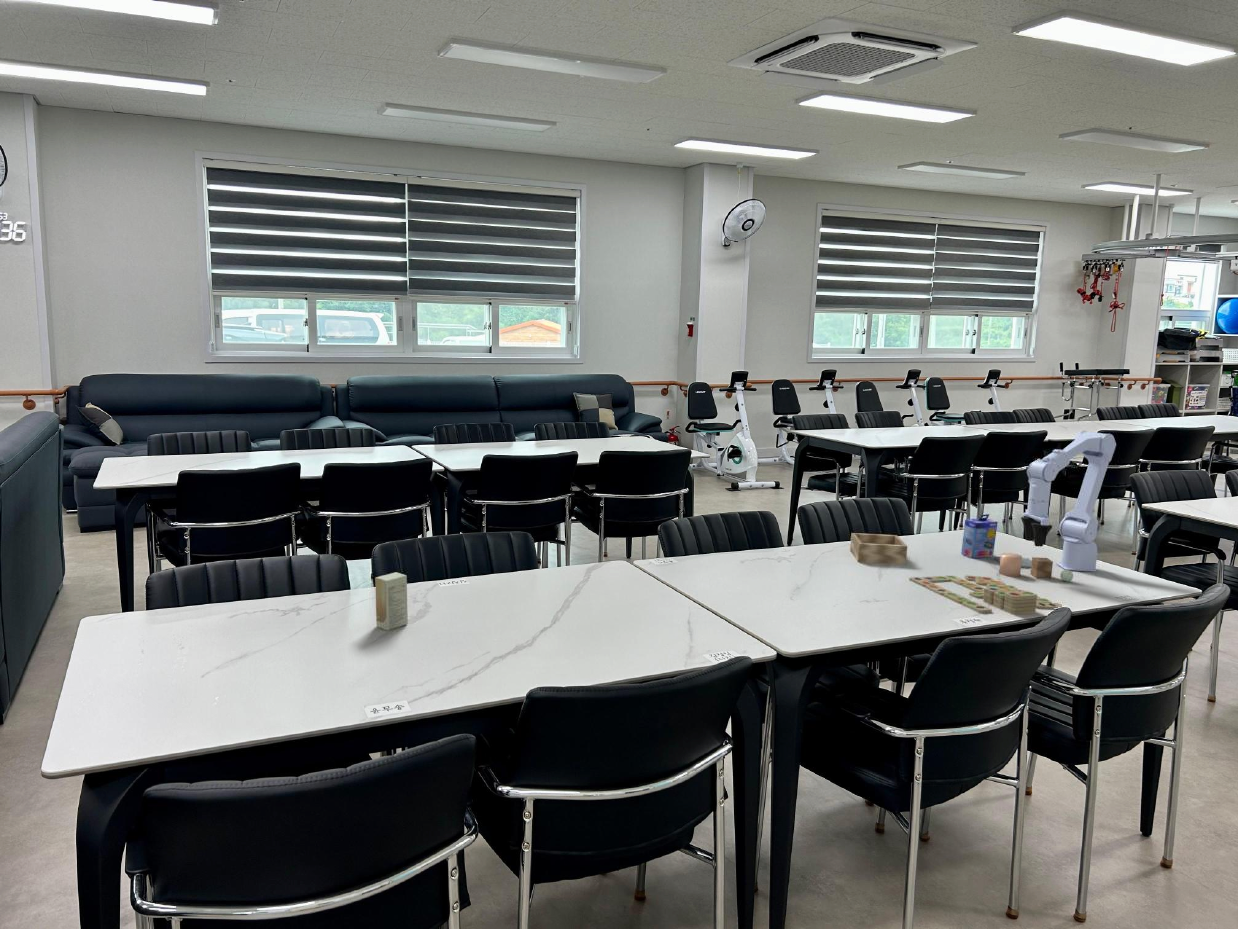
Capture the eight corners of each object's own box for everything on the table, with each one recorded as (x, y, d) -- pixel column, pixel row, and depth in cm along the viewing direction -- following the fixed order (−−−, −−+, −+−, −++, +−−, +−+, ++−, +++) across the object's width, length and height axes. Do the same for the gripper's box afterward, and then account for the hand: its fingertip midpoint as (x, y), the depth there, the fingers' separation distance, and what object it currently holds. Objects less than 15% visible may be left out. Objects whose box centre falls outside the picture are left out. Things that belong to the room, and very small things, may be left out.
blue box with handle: (972, 558, 291) (976, 516, 289) (960, 554, 296) (964, 512, 294) (994, 556, 295) (999, 514, 293) (982, 552, 300) (986, 510, 298)
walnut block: (1045, 575, 274) (1047, 558, 273) (1051, 579, 269) (1053, 561, 268) (1030, 574, 274) (1032, 557, 273) (1035, 578, 270) (1037, 561, 269)
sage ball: (1069, 580, 269) (1071, 568, 268) (1074, 583, 265) (1075, 572, 265) (1057, 579, 269) (1059, 568, 269) (1062, 582, 266) (1063, 571, 265)
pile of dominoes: (1069, 612, 239) (1072, 592, 238) (986, 618, 231) (989, 598, 230) (982, 576, 271) (984, 559, 271) (906, 581, 263) (908, 563, 263)
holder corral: (895, 552, 295) (896, 535, 294) (905, 564, 280) (907, 546, 279) (850, 550, 296) (851, 533, 296) (857, 562, 282) (859, 543, 281)
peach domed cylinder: (1016, 572, 276) (1018, 553, 275) (1022, 577, 270) (1025, 558, 269) (996, 571, 277) (998, 552, 276) (1002, 576, 271) (1004, 557, 270)
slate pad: (1028, 560, 292) (1028, 558, 291) (1040, 568, 281) (1040, 567, 281) (993, 558, 292) (993, 556, 292) (1005, 566, 282) (1005, 565, 282)
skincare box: (397, 620, 213) (397, 571, 211) (408, 624, 210) (408, 575, 208) (374, 626, 208) (374, 576, 206) (385, 631, 205) (385, 580, 203)
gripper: (1017, 495, 278) (1012, 537, 280) (1033, 504, 264) (1028, 548, 266) (1040, 496, 277) (1035, 538, 279) (1058, 505, 263) (1053, 549, 265)
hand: (1034, 543), depth 273 cm, fingers open, 7 cm apart
